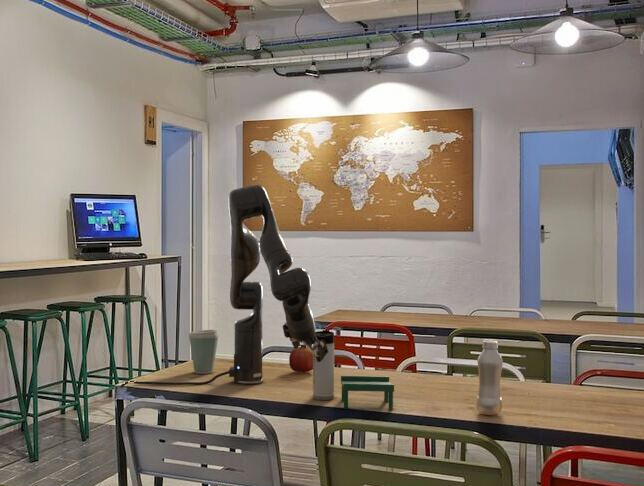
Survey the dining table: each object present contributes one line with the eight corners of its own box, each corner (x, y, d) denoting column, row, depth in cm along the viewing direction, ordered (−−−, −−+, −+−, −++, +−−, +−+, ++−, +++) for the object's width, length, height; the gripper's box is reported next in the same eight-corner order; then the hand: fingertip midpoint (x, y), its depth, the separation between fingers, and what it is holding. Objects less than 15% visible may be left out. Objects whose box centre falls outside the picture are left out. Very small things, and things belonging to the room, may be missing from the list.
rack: (343, 409, 207) (343, 383, 207) (340, 399, 219) (340, 375, 219) (394, 410, 206) (394, 384, 206) (388, 400, 218) (388, 376, 218)
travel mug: (336, 396, 224) (336, 330, 223) (331, 401, 218) (331, 333, 217) (315, 394, 226) (315, 329, 225) (310, 399, 220) (310, 332, 219)
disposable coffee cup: (187, 375, 258) (187, 332, 257) (190, 369, 269) (190, 328, 268) (217, 375, 258) (217, 332, 257) (219, 369, 268) (219, 328, 268)
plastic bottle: (472, 412, 204) (473, 339, 203) (495, 411, 204) (496, 339, 204) (481, 417, 197) (482, 343, 197) (506, 417, 198) (507, 342, 197)
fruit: (306, 369, 269) (306, 341, 269) (323, 373, 260) (323, 345, 260) (282, 371, 264) (282, 343, 263) (298, 376, 255) (298, 347, 255)
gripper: (272, 319, 209) (282, 351, 221) (312, 341, 201) (320, 373, 213) (288, 301, 212) (297, 333, 224) (328, 322, 204) (335, 355, 216)
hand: (308, 353), depth 219 cm, fingers open, 8 cm apart
